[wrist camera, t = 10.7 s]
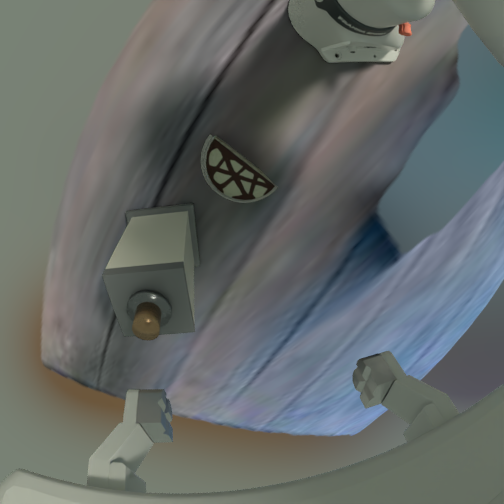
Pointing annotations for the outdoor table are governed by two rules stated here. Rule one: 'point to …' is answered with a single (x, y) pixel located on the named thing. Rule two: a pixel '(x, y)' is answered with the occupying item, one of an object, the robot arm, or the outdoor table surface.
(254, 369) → the outdoor table surface
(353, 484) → the robot arm
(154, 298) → the plunger
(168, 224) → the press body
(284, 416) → the outdoor table surface
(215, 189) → the half citrus wheel toy
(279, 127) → the outdoor table surface
